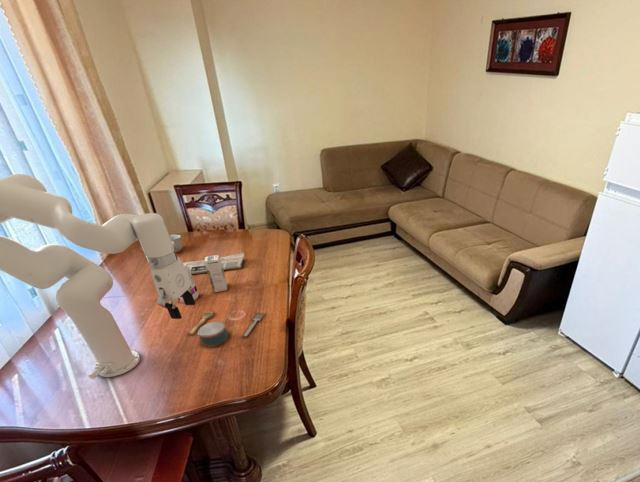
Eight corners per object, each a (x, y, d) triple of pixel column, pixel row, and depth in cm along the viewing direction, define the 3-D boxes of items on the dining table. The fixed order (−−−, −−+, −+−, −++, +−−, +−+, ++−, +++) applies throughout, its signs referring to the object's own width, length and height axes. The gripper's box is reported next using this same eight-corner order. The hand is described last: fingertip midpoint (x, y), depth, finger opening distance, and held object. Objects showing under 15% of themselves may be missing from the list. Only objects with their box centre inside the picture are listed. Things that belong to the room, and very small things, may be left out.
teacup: (163, 250, 210) (158, 236, 206) (184, 245, 214) (179, 231, 209) (163, 259, 200) (158, 244, 195) (186, 254, 203) (180, 240, 199)
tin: (221, 347, 133) (217, 336, 130) (196, 346, 134) (192, 335, 131) (232, 332, 140) (229, 321, 137) (209, 331, 141) (205, 320, 139)
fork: (248, 337, 137) (248, 335, 137) (241, 336, 137) (241, 335, 137) (264, 314, 149) (263, 313, 148) (257, 314, 149) (257, 313, 149)
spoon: (196, 334, 140) (195, 332, 139) (186, 334, 141) (185, 332, 140) (215, 313, 152) (214, 311, 151) (206, 313, 152) (205, 311, 152)
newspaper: (166, 278, 180) (163, 271, 178) (173, 267, 191) (170, 260, 189) (243, 268, 185) (241, 261, 183) (246, 258, 195) (244, 251, 193)
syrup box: (214, 287, 170) (204, 256, 162) (228, 284, 172) (218, 254, 164) (213, 293, 166) (203, 262, 158) (228, 290, 167) (218, 259, 159)
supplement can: (192, 304, 159) (179, 271, 150) (174, 303, 161) (161, 270, 152) (203, 294, 165) (191, 262, 157) (186, 293, 167) (174, 261, 159)
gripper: (156, 272, 102) (179, 327, 112) (191, 246, 116) (209, 297, 126) (130, 272, 103) (156, 327, 113) (168, 246, 117) (187, 296, 127)
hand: (183, 311), depth 119 cm, fingers open, 7 cm apart
